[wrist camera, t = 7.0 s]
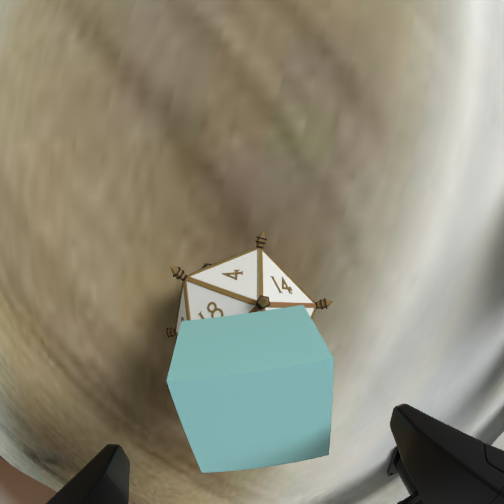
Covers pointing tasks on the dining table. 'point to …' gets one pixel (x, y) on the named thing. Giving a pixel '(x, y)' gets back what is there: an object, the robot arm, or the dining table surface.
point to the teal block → (253, 389)
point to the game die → (239, 288)
